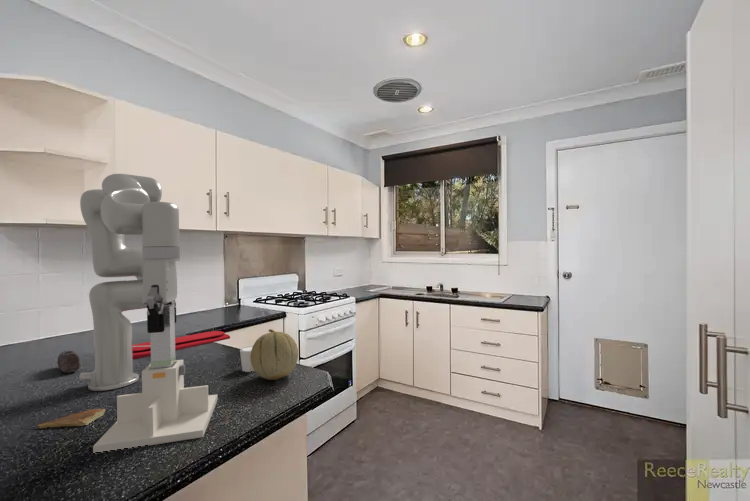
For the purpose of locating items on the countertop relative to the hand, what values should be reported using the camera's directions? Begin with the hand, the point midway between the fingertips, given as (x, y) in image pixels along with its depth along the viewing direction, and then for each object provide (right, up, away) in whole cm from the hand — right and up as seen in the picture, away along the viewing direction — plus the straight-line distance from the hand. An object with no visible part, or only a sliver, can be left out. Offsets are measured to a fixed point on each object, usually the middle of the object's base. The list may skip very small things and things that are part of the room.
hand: (162, 327), depth 82 cm
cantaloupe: (+18, -22, +28) cm, 40 cm away
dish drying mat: (-37, -24, +71) cm, 83 cm away
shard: (-22, -24, +1) cm, 32 cm away
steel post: (0, -13, 0) cm, 13 cm away
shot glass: (+8, -23, +37) cm, 44 cm away
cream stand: (0, -22, 0) cm, 22 cm away
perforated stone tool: (-58, -24, +41) cm, 75 cm away
